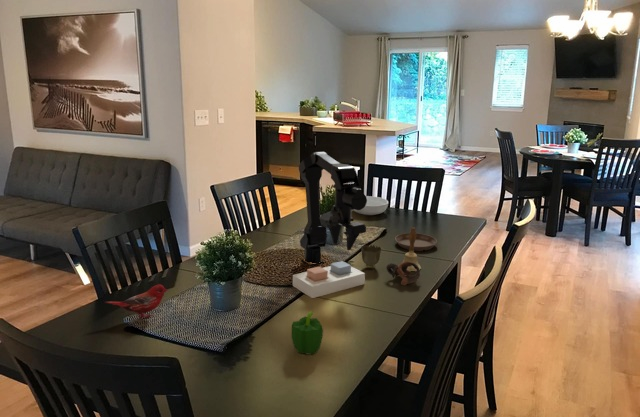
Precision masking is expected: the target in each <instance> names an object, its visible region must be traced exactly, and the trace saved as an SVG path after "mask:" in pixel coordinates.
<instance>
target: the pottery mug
mask: <svg viewBox="0 0 640 417" xmlns="http://www.w3.org/2000/svg"><path fill="white" fill-rule="evenodd" d="M410 266H414V268H415V269H417V271H416V273H415V274H412V272H411V271H408V270H407V268H408V267H410ZM385 269H386V271H387V272H388V274H389V275H391V278H393V279H394V278H397V277H400V278H401V281H400V285H402V286H403V285H404V286H405V287H406V285H407V284H408V285H409V284H412V283H415V282H417V281H418V280H419V279H420V276H421V274H420V272H421V270H419V267H418V266H417V265H416V264H415V263H413V262H409V261H404V262H403V261H402V262H401V263H399V264H395V263H392V262H391V263H388V264H387V265H386V268H385ZM411 274H412V275H411Z"/></svg>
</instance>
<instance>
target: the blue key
mask: <svg viewBox="0 0 640 417" xmlns="http://www.w3.org/2000/svg"><path fill="white" fill-rule="evenodd" d="M330 266H331V272H333V273H335V274H337V275H339V276H340V275H344V274H348V273H351V267H352V265H351V264H350V263H347V262H345V261H342V260H341V261H337V262H332V263H330Z"/></svg>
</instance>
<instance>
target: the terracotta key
mask: <svg viewBox="0 0 640 417" xmlns="http://www.w3.org/2000/svg"><path fill="white" fill-rule="evenodd" d="M323 268H324V267H321V266H315V267H311V268H307V269H306V272H307V278H309V279H311V280H313V281H314V282H316V281H320V280H324V279H327V277H328V271H327V270H325V269H323Z"/></svg>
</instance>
